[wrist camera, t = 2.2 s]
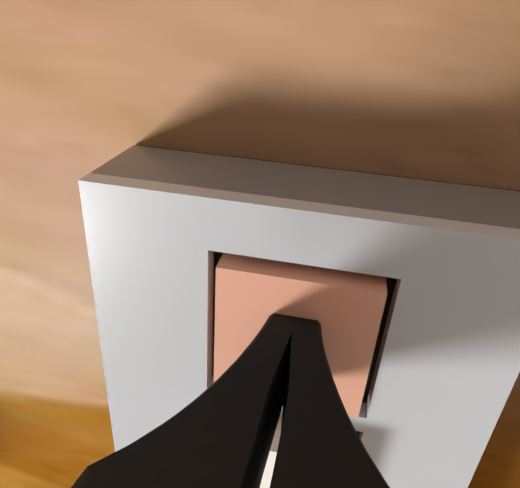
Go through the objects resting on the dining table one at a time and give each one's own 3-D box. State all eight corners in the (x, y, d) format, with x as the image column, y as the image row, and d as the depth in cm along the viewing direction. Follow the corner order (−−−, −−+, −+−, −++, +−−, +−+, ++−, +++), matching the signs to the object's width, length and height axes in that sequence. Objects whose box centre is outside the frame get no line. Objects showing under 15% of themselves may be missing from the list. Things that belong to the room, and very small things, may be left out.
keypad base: (392, 557, 22) (398, 642, 19) (159, 503, 24) (131, 574, 21) (526, 191, 13) (576, 247, 10) (134, 145, 15) (78, 180, 12)
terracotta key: (358, 366, 15) (357, 417, 13) (231, 343, 16) (213, 389, 14) (383, 251, 13) (387, 294, 11) (235, 230, 14) (215, 267, 12)
